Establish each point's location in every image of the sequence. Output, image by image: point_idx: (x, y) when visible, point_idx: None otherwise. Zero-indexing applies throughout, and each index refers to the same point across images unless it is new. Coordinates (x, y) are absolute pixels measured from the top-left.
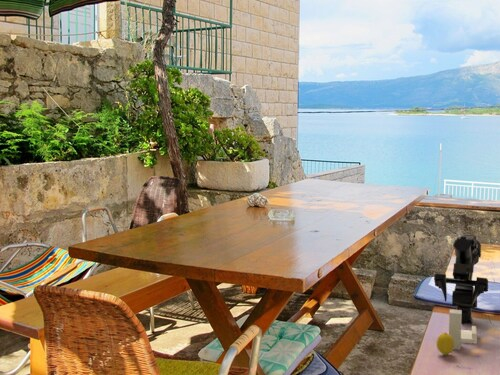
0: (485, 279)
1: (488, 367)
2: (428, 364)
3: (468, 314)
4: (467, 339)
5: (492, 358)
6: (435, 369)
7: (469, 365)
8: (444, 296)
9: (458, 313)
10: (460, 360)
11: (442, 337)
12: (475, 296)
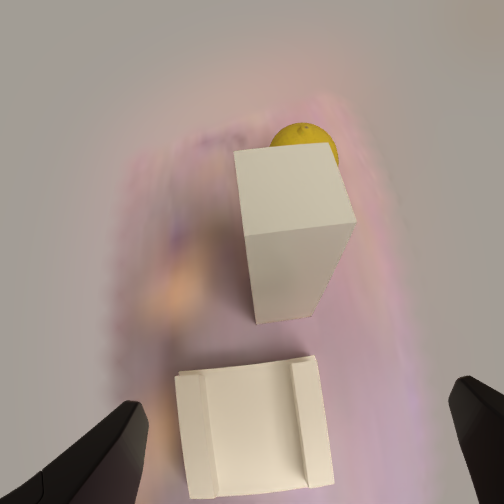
0: None
1: (147, 168)
2: (324, 122)
3: None
4: (226, 368)
5: (126, 239)
6: (296, 105)
7: (204, 156)
8: (497, 393)
9: (259, 151)
10: (236, 177)
11: (312, 124)
12: (59, 456)
